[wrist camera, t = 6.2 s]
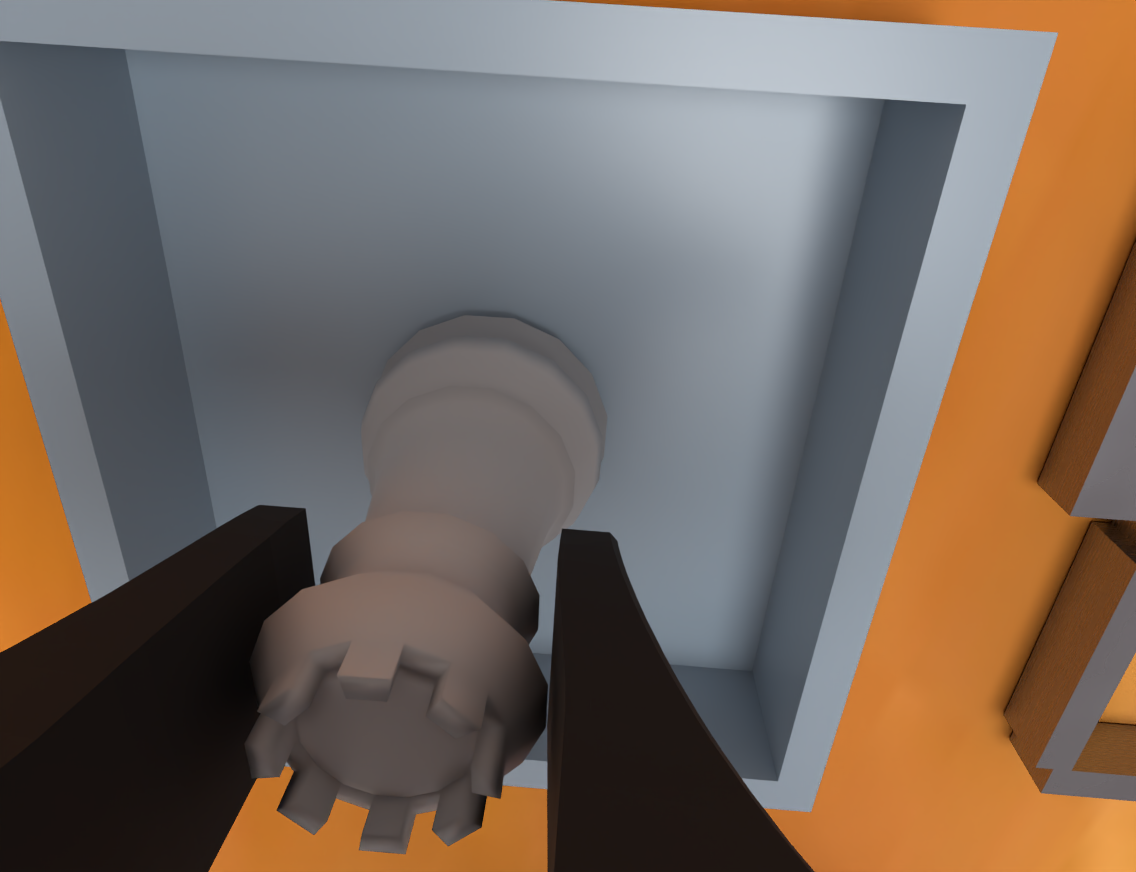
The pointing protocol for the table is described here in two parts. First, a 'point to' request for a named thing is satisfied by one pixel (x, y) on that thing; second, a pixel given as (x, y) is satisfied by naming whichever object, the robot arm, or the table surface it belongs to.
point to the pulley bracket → (1089, 580)
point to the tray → (518, 285)
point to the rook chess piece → (432, 588)
